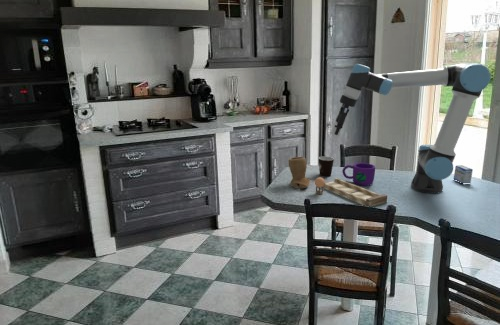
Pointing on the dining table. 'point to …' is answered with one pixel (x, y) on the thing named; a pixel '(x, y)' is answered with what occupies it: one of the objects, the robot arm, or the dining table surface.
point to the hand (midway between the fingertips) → (333, 137)
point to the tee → (319, 191)
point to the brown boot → (298, 172)
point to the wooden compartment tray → (355, 193)
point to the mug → (361, 173)
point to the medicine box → (463, 174)
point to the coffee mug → (325, 166)
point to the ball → (319, 182)
